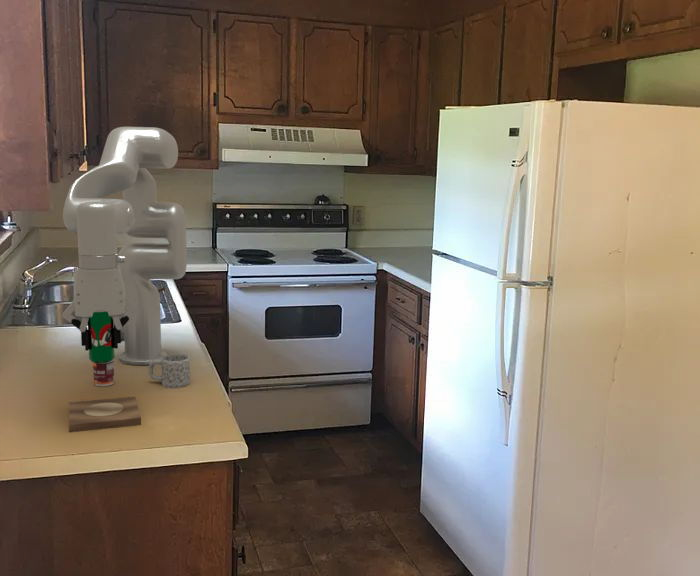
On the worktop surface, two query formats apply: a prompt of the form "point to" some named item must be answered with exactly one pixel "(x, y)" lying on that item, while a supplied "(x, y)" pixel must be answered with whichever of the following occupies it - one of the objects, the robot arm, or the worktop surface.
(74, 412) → the board
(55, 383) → the worktop surface
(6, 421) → the worktop surface
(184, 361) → the mug
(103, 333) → the soda can
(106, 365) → the pill bottle
